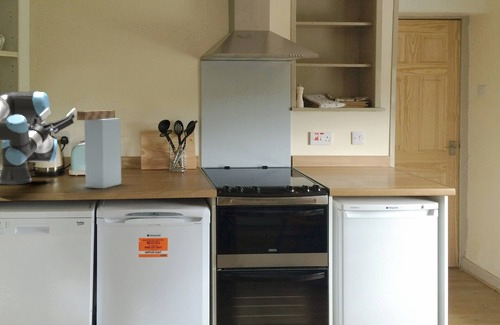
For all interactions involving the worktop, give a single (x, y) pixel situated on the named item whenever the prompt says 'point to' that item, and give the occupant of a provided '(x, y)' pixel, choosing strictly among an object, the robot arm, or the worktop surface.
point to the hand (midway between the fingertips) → (62, 110)
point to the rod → (95, 115)
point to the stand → (102, 153)
